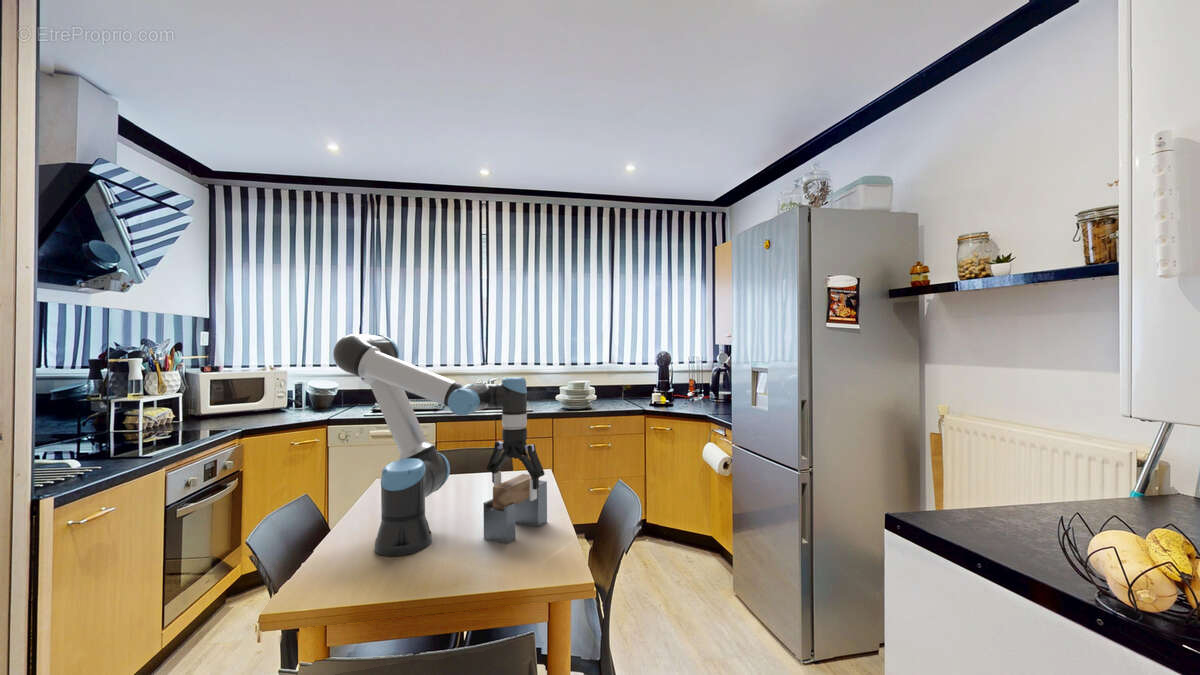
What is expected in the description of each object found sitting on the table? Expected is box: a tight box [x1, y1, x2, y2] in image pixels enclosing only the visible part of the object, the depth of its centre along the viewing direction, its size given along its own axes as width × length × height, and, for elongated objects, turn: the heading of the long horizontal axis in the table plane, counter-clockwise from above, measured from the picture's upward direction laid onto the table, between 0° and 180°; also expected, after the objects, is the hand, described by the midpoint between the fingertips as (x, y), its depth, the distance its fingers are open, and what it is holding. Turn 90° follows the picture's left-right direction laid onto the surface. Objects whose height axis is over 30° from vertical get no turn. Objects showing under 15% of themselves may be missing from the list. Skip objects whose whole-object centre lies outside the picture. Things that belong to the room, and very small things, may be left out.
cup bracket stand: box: [483, 479, 548, 545], centre depth 149 cm, size 10×20×13 cm, turn 152°
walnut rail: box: [492, 473, 532, 509], centre depth 149 cm, size 5×16×6 cm, turn 156°
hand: (515, 496), depth 149 cm, fingers open, 13 cm apart
